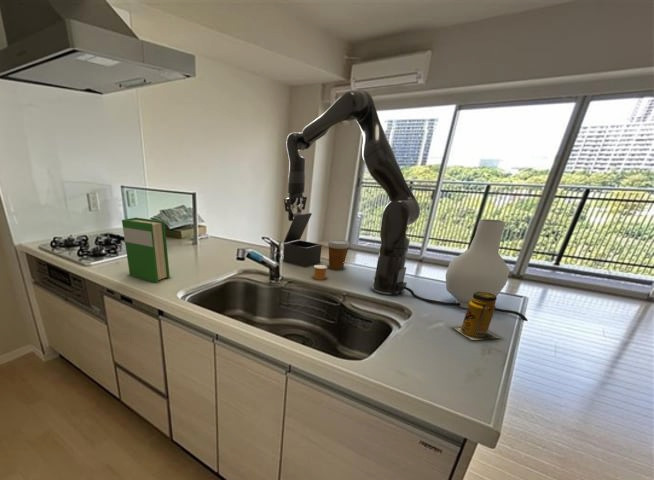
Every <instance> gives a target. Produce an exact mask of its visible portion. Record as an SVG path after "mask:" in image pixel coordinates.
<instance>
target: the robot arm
mask: <svg viewBox="0 0 654 480" xmlns="http://www.w3.org/2000/svg"><path fill="white" fill-rule="evenodd" d="M342 122H357V124H358V126H359V129H360V131H361V133H362V138H363V140H362V148H361V149H362V152H361V155H362V159H363V162H364V165H365V167H366V169H367V171H368V173H369V175H370V177H371V178H372V179H373V180H374V181H375V182H376V183H377V184H378V185H379V186H380V187H381V188H382V189H383V190H384V192H385V193H386V195H387V198H388V200H389V202H388V203H387V204H386V205H385V207H384V209H383V212H382V216H381V222H380V223H381V224H380V229H379V230H380V232H379V238H380V246H379V250H378V251H379V252H378V258H377V263H376V267H375V273H374V277H373V285H372V291H373V292H375V293H377V294H380V295H386V296H387V295H389V296H396V295H398V294H399V293H403V291H407V292H409V293H410V294H411V296H412V297H414V298H415V299H418V300H420V301H422V302H423V301H424V302H427V303H432V304H437V305H443V306H456V307H460V303H456V302H448V301H440V300H435V299H430V298H429V299H428V298H424V297H421V296H419V295H417V294H415V293H414V290H413V289H411V288H409V287H407V282H405V276H406V272H407V267H406V266H405V265H406V261H407V255H408V252H409V247H410V242H411V240H410V238H409V237H408V236H407V229H408V226H409V225H413V224H414V223H416V222H417V221H418V219H419V218H420V216H421V215H420V214H421V207H420V204H419V202H418V200H417V198H416V196H415V194H414V193H413V191H412V190H411V189H410V186H409V185H408V183H407V182H406V178H405V176H404V174H403V172H402V170H401V167H400V165H399V163H398V161H397V158H396V155H395V153H394V150H393V149H392V146H391V144H390V141H389V140H388V138H387V136H386V133H385V130H384V128H383V126H382V124H381V121H380V118H379V114H378V111H377V107H376V104H375V101H374V99H373V96H372V95H371V93H370V92H369V91H368V90H363V89H356V90H355V89H354V90H353V89H352V90H349V91H346V92H344V93H343V94H342V95H341V96H339V98H337V99H336V101H335V102H333V104H332V105H331V106H330V107H329V108H327V109H326V110H325V112H324V113H322V114H321V115H320V116H319V117H317V118H315V120H313V121H311V122H310V123H309V124H307V125H306V126H305V127H303V129H302V132H291V133H289V134H288V136H287V138H286V142H285V143H286V151H287V155H288V160H289V166H288V167H289V168H288V169H289V170H288V178H287V180H288V181H287V193H288V197H287V198H284V199H283V203H284V212H287V213H288V214H287V215H288V216H287V218H288V219H287V220H288V221H289V222H292V221H293V219H294V217H293V213H294V210H295V208H296V213H297V212H300V213H301V214H302V212H303V211H304V210H305V209H306V204H307V199H308V197H307V196H303V194H304V193H305V186H306V158H305V156H301V155H300V152H302V151H306V150H308V149H310V148H311V147H312V145H314V143H315V142H317V141H319V140H320V139H321V138H323V137H324V136H326V135H327V134H328V133H329V132H330V130H331V129H332V127H333V126H335V125H338V124H340V123H342ZM299 151H300V152H299ZM494 312H499V313H504V314H505V313H506V314H512V315H516V316H518V317H520V318H521V319H522V321H524V322H529V321H528V318H527V317H526V316H525V315H524V314H523V313H521V312H520V311H519V312H518V311H516V310H511V309H503V308H498V307H495V310H494Z"/></svg>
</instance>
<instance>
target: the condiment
mask: <svg viewBox="0 0 654 480" xmlns="http://www.w3.org/2000/svg"><path fill="white" fill-rule="evenodd" d="M497 299H498V298H497V297H496V296H495V295H493V294H491V293H486V292H475V293H474V294H473V298H472V301H470V302H469V305H468V308H466V312H465V315H464V318H463V322H462V324H461V327H457V328H456V327H453V329H454V330H456V331H457V332H458V333H460V334H461V335H463V336H464V337H466V338H467V339H469V340H471V341H478V340H480V341H481V340H491V339H492V340H493V339H501V337H500V336H497V335H495V334H493V333H492V332H490V331H488V330H489V328H490V324H491V322H492V319H493V316H494V314H495V311H494V310H495V308H496V302H497Z"/></svg>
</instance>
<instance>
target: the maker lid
mask: <svg viewBox="0 0 654 480" xmlns="http://www.w3.org/2000/svg"><path fill="white" fill-rule="evenodd" d="M312 214H313V213H311V212H308V213H303V214H302V212H301V213H300V212H297V211H296V212H293V221H291V224H290V226H289V229H288V231H287V233H286V236H285V238H284V240H283V243H289V242H293V241H297V240H301V238H302V236H303V234H304V233H305V229H306V227H307V225H308V223H309V221H310V219H311V217H312Z"/></svg>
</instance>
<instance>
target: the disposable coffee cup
mask: <svg viewBox="0 0 654 480" xmlns="http://www.w3.org/2000/svg"><path fill="white" fill-rule="evenodd" d="M327 246H328V268H329V269H331V270H342V269H344V267H345V262H346V258H347V255H348V251H349V248H350V246H351V244H350V241H349V240H345V239H330V240H329V241H328V243H327ZM343 262H344V263H343Z"/></svg>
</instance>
